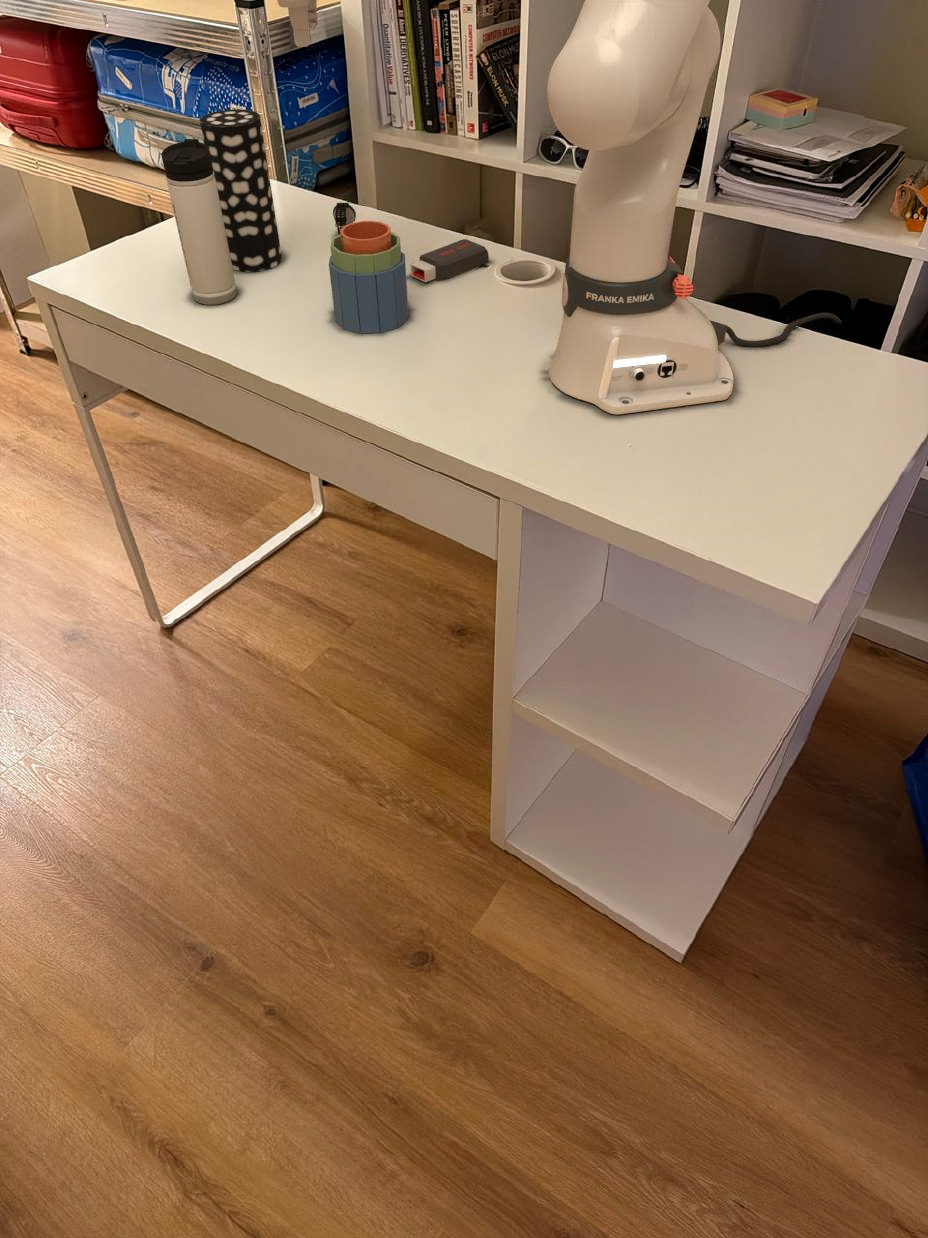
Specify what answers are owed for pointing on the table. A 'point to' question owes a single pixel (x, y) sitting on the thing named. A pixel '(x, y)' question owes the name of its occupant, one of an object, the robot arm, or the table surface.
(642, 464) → the table surface
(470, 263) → the usb drive
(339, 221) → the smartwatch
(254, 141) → the spotted tube
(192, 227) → the travel mug
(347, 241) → the terracotta cup
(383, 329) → the cup stack
